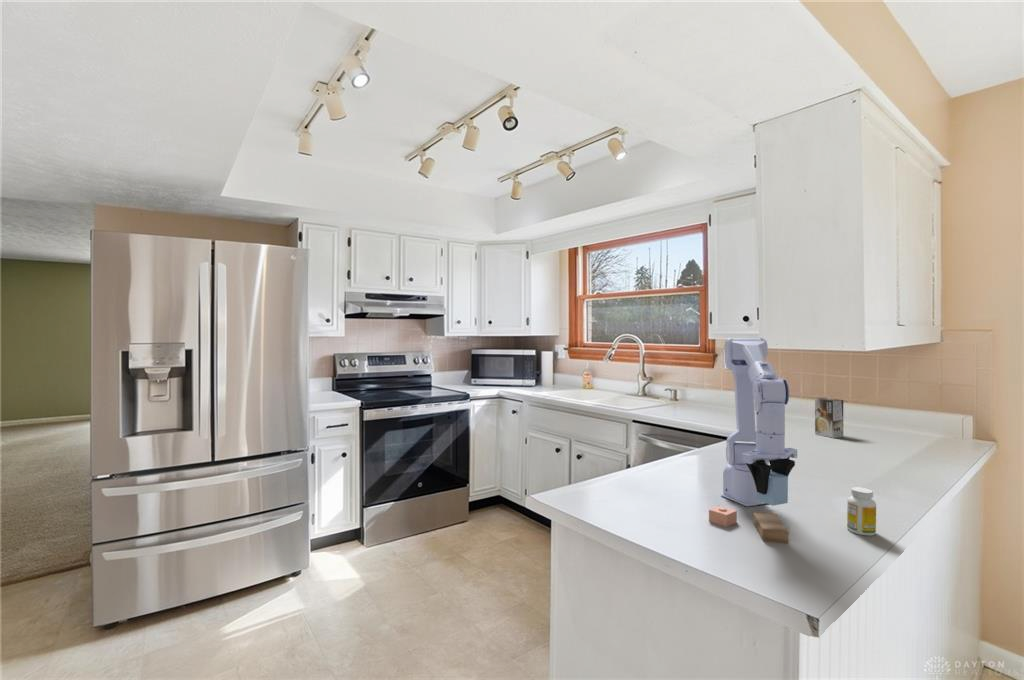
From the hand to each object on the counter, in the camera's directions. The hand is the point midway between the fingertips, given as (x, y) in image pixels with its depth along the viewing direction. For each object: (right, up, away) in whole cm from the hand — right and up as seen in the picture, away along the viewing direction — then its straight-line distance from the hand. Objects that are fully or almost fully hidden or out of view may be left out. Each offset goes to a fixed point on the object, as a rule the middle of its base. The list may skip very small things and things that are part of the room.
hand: (770, 491), depth 111 cm
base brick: (0, -10, 0) cm, 10 cm away
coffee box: (+79, -7, +102) cm, 129 cm away
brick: (-8, -10, +7) cm, 14 cm away
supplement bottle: (+21, -10, +1) cm, 23 cm away
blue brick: (0, -2, 0) cm, 2 cm away
